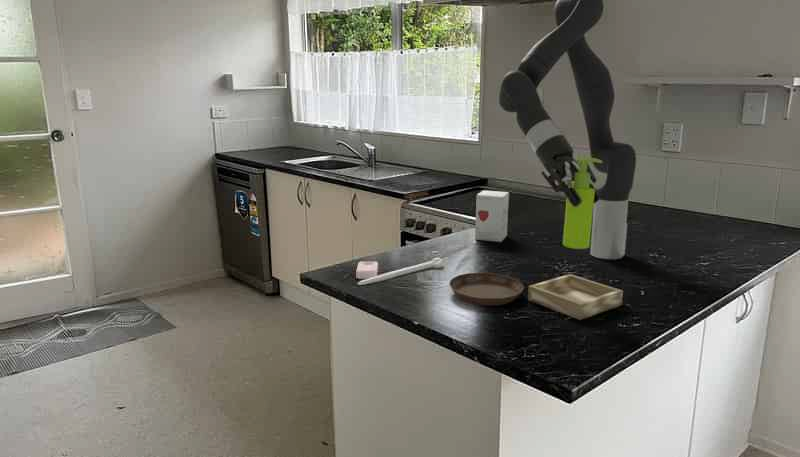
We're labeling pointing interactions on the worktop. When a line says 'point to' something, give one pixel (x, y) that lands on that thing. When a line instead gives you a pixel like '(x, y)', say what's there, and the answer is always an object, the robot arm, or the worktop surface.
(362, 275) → the soap bar
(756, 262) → the worktop surface
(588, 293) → the birch crate
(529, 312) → the worktop surface
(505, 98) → the robot arm
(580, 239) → the soap dispenser
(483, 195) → the supplement box
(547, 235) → the worktop surface
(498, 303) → the plant saucer
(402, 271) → the white ball-headed stick
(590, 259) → the worktop surface
